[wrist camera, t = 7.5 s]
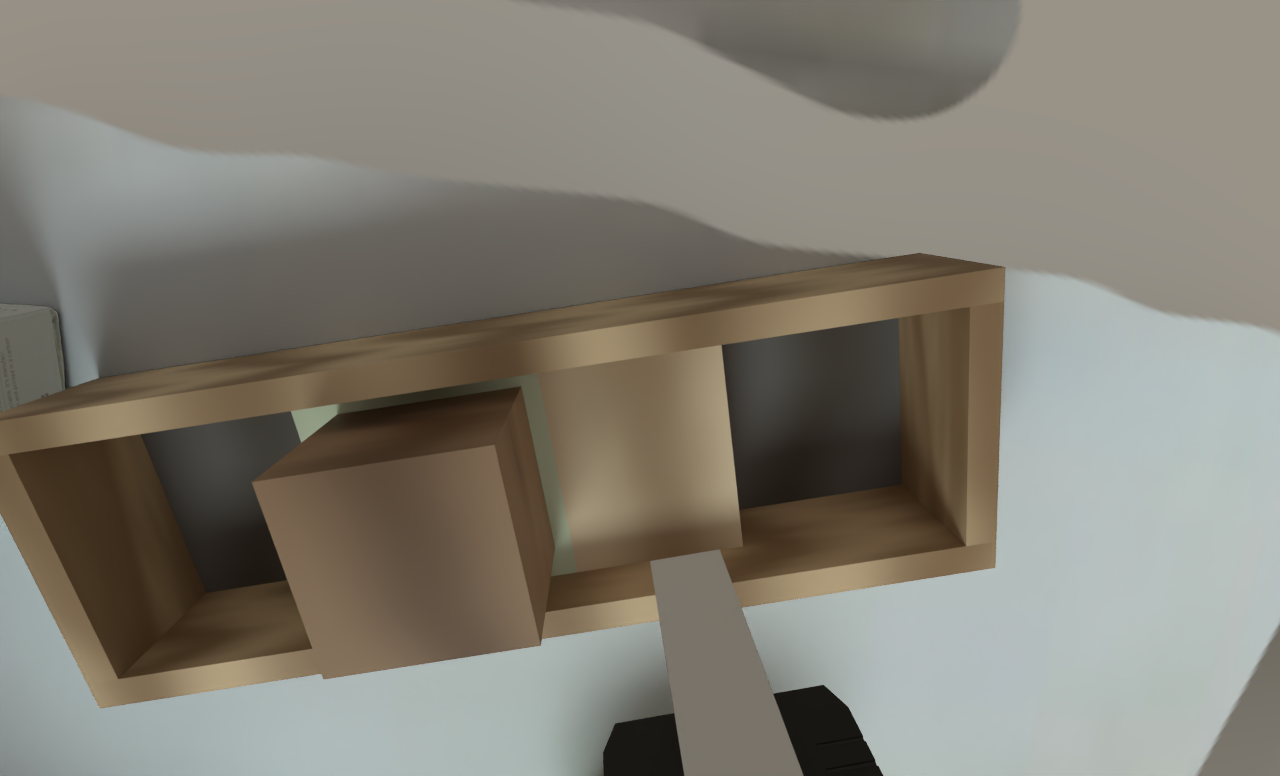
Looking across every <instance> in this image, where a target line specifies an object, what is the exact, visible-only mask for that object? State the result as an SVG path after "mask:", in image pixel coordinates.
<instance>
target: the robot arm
mask: <svg viewBox="0 0 1280 776" xmlns="http://www.w3.org/2000/svg"><path fill="white" fill-rule="evenodd" d="M650 564H651V570H652V576H653V583H654V589H655V595H656V601H657V608H658V614H659V620H660V626H661V633H662V639H663V645H664V651H665V658H666V664H667V670H668V676H669V683H670V689H671V695H672V701H673V708H674V713H673V714H667V715H661V716H656V717H650V718H644V719H639V720H633V721H627V722H622V723H616V724H615V725H614V728H613V730H612V733H611V735H610V737H609V740H608V742H607V745H606V747H605V750H604V752H603V764H604V776H883V774H882V772H881V770H880V768H879V767H878V766H877V765H876V762H875V759H874V757H873V755H872V753H871V751H870V749H869V747H868V745H867V743H866V741H864V739H863V735H862V733H861V731H860V729H859V727H858V725H857V723H856V722H855V720H854V718H853V716H852V714H851V712H850V710H849V708H848V706H846V705H845V704H844V703H843V702H842V701H841V700H840V699H839V698H837V697H836V696H835V695H834V694H833V693H832V692H831V691H830V690H829V689H827V688H826V687H825V686H824V685H821V686H815V687H809V688H804V689H798V690H792V691H787V692H781V693H775V694H773V692H772V689H771V687H770V684H769V681H768V679H767V676H766V673H765V670H764V668H763V665H762V662H761V660H760V657H759V654H758V652H757V649H756V646H755V643H754V641H753V638H752V635H751V633H750V630H749V627H748V625H747V622H746V619H745V616H744V614H743V611H742V608H741V606H740V603H739V600H738V598H737V595H736V592H735V589H734V587H733V584H732V581H731V579H730V576H729V573H728V571H727V568H726V565H725V562H724V560H723V557H722V554H721V552H720V549H718V550H713V551H707V552H701V553H695V554H689V555H683V556H677V557H671V558H665V559H659V560H653V561H650Z"/></svg>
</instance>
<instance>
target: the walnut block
mask: <svg viewBox="0 0 1280 776" xmlns="http://www.w3.org/2000/svg"><path fill="white" fill-rule="evenodd" d="M252 484H253V487H254V490H255V493H256V495H257V498H258V501H259V504H260V506H261V509H262V512H263V515H264V517H265V520H266V523H267V525H268V528H269V531H270V534H271V536H272V539H273V542H274V545H275V547H276V550H277V553H278V556H279V558H280V561H281V564H282V567H283V569H284V572H285V575H286V578H287V580H288V583H289V586H290V588H291V591H292V594H293V597H294V599H295V602H296V605H297V608H298V610H299V613H300V616H301V619H302V621H303V624H304V627H305V630H306V632H307V635H308V638H309V640H310V643H311V646H312V649H313V651H314V654H315V657H316V660H317V662H318V665H319V668H320V671H321V673H322V676H323V679H329V678H335V677H342V676H348V675H355V674H361V673H367V672H374V671H380V670H387V669H393V668H399V667H406V666H412V665H419V664H425V663H431V662H438V661H444V660H451V659H457V658H463V657H470V656H476V655H483V654H489V653H496V652H502V651H508V650H515V649H521V648H528V647H534V646H540V645H541V640H542V633H543V626H544V620H545V613H546V606H547V599H548V593H549V586H550V579H551V572H552V565H553V559H554V552H555V544H554V539H553V535H552V530H551V525H550V520H549V516H548V511H547V506H546V501H545V497H544V492H543V487H542V482H541V478H540V473H539V468H538V463H537V459H536V454H535V449H534V444H533V439H532V435H531V430H530V425H529V420H528V416H527V411H526V406H525V401H524V397H523V392H522V387H521V386H520V387H514V388H507V389H501V390H494V391H488V392H481V393H474V394H468V395H461V396H455V397H448V398H442V399H435V400H429V401H422V402H415V403H409V404H402V405H396V406H389V407H383V408H376V409H369V410H363V411H356V412H350V413H343V414H337V415H336V416H335V417H333V418H332V419H331V420H330V421H328V422H327V423H326V424H324V425H323V426H322V427H321V428H319V429H318V430H317V431H316V432H314V433H313V434H312V435H311V436H309V437H308V438H307V439H306V440H304V441H303V442H302V443H300V444H299V445H298V446H297V447H295V448H294V449H293V450H292V451H290V452H289V453H288V454H287V455H285V456H284V457H283V458H282V459H280V460H279V461H278V462H276V463H275V464H274V465H273V466H271V467H270V468H269V469H268V470H266V471H265V472H264V473H263V474H261V475H260V476H259V477H257V478H256V479H255V480H254V481H252Z"/></svg>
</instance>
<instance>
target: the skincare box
mask: <svg viewBox="0 0 1280 776" xmlns="http://www.w3.org/2000/svg"><path fill="white" fill-rule="evenodd" d="M64 378H65V377H64V363H63V354H62V345H61V336H60V330H59V319H58V315H57V312H56V311H55V310H54V309H52V308H51V307H45V306H35V305H12V304H2V303H0V412H3V411H6V410H8V409H11V408H14V407H17V406H20V405H23V404H26V403H29V402H31V401H34V400H37V399H40V398H43V397H46V396H49V395H52V394H54V393H57V392H60V391H63V390H65V380H64Z"/></svg>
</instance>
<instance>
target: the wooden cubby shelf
mask: <svg viewBox="0 0 1280 776" xmlns="http://www.w3.org/2000/svg"><path fill="white" fill-rule="evenodd" d="M1004 287H1005V267H1002V266H995V265H989V264H983V263H977V262H971V261H965V260H959V259H953V258H947V257H940V256H934V255H928V254H922V253H917V254H910V255H904V256H897V257H891V258H884V259H877V260H871V261H864V262H858V263H851V264H845V265H838V266H832V267H825V268H818V269H812V270H805V271H799V272H792V273H786V274H779V275H773V276H766V277H759V278H753V279H746V280H740V281H733V282H727V283H720V284H714V285H707V286H701V287H694V288H687V289H681V290H674V291H668V292H661V293H655V294H648V295H642V296H635V297H628V298H622V299H615V300H609V301H602V302H596V303H589V304H583V305H576V306H569V307H563V308H556V309H550V310H543V311H537V312H530V313H524V314H517V315H510V316H504V317H497V318H491V319H484V320H478V321H471V322H465V323H458V324H451V325H445V326H438V327H432V328H425V329H419V330H412V331H406V332H399V333H392V334H386V335H379V336H373V337H366V338H360V339H353V340H347V341H340V342H334V343H327V344H320V345H314V346H307V347H301V348H294V349H288V350H281V351H275V352H268V353H261V354H255V355H248V356H242V357H235V358H229V359H222V360H216V361H209V362H202V363H196V364H189V365H183V366H176V367H170V368H163V369H157V370H150V371H143V372H137V373H130V374H124V375H117V376H111V377H104V378H98V379H95V380H92V381H89V382H86V383H83V384H80V385H77V386H75V387H72V388H69V389H66V390H63V391H60V392H57V393H54V394H52V395H49V396H46V397H43V398H40V399H37V400H34V401H31V402H29V403H26V404H23V405H20V406H17V407H14V408H11V409H8V410H6V411H3V412H0V513H1V515H2V517H3V519H4V521H5V523H6V525H7V527H8V529H9V531H10V533H11V535H12V537H13V539H14V541H15V543H16V545H17V547H18V549H19V551H20V553H21V555H22V557H23V559H24V561H25V562H26V564H27V566H28V568H29V570H30V572H31V574H32V576H33V578H34V580H35V582H36V584H37V586H38V588H39V590H40V592H41V594H42V596H43V598H44V600H45V602H46V604H47V606H48V608H49V610H50V612H51V613H52V615H53V617H54V619H55V621H56V623H57V625H58V627H59V629H60V631H61V633H62V635H63V637H64V639H65V641H66V643H67V645H68V647H69V649H70V651H71V653H72V655H73V657H74V659H75V661H76V663H77V664H78V666H79V668H80V670H81V672H82V674H83V676H84V678H85V680H86V682H87V684H88V686H89V688H90V690H91V692H92V694H93V696H94V698H95V700H96V702H97V704H98V706H99V708H106V707H112V706H119V705H125V704H131V703H138V702H144V701H150V700H157V699H163V698H169V697H176V696H182V695H189V694H195V693H201V692H208V691H214V690H220V689H227V688H233V687H239V686H246V685H252V684H259V683H265V682H271V681H278V680H284V679H290V678H297V677H303V676H309V675H316V674H322V673H321V671H320V668H319V665H318V662H317V660H316V657H315V654H314V651H313V649H312V646H311V643H310V640H309V638H308V635H307V632H306V630H305V627H304V624H303V621H302V619H301V616H300V613H299V610H298V608H297V605H296V602H295V599H294V597H293V594H292V591H291V588H290V586H289V583H288V580H287V578H286V575H285V572H284V569H283V567H282V564H281V561H280V558H279V556H278V553H277V550H276V547H275V545H274V542H273V539H272V536H271V534H270V531H269V528H268V525H267V523H266V520H265V517H264V515H263V512H262V509H261V506H260V504H259V501H258V498H257V495H256V493H255V490H254V487H253V484H252V481H254V480H255V479H256V478H257V477H259V476H260V475H261V474H263V473H264V472H265V471H266V470H268V469H269V468H270V467H271V466H273V465H274V464H275V463H276V462H278V461H279V460H280V459H282V458H283V457H284V456H285V455H287V454H288V453H289V452H290V451H292V450H293V449H294V448H295V447H297V446H298V445H299V444H300V443H302V442H303V441H304V440H306V439H307V438H308V437H309V436H311V435H312V434H313V433H314V432H316V431H317V430H318V429H319V428H321V427H322V426H323V425H324V424H326V423H327V422H328V421H330V420H331V419H332V418H333V417H335V416H336V415H337V414H343V413H350V412H356V411H363V410H369V409H376V408H383V407H389V406H396V405H402V404H409V403H415V402H422V401H429V400H435V399H442V398H448V397H455V396H461V395H468V394H474V393H481V392H488V391H494V390H501V389H507V388H514V387H520V386H521V387H522V392H523V397H524V401H525V406H526V411H527V416H528V420H529V425H530V430H531V435H532V439H533V444H534V449H535V454H536V459H537V463H538V468H539V473H540V478H541V482H542V487H543V492H544V497H545V501H546V506H547V511H548V516H549V520H550V525H551V530H552V535H553V539H554V544H555V552H554V559H553V565H552V572H551V579H550V586H549V593H548V599H547V606H546V613H545V620H544V626H543V633H542V639H545V638H551V637H557V636H564V635H570V634H577V633H583V632H589V631H596V630H602V629H608V628H615V627H621V626H627V625H634V624H640V623H647V622H653V621H659V614H658V608H657V601H656V595H655V589H654V583H653V576H652V570H651V564H650V561H653V560H659V559H665V558H671V557H677V556H683V555H689V554H695V553H701V552H707V551H713V550H718V549H720V552H721V554H722V557H723V560H724V562H725V565H726V568H727V571H728V573H729V576H730V579H731V581H732V584H733V587H734V589H735V592H736V595H737V598H738V600H739V603H740V606H741V608H742V607H748V606H755V605H761V604H767V603H774V602H780V601H786V600H793V599H799V598H806V597H812V596H818V595H825V594H831V593H837V592H844V591H850V590H856V589H863V588H869V587H876V586H882V585H888V584H895V583H901V582H907V581H914V580H920V579H926V578H933V577H939V576H946V575H952V574H958V573H965V572H971V571H977V570H984V569H990V568H995V561H996V531H997V500H998V470H999V439H1000V409H1001V379H1002V348H1003V318H1004Z"/></svg>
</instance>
